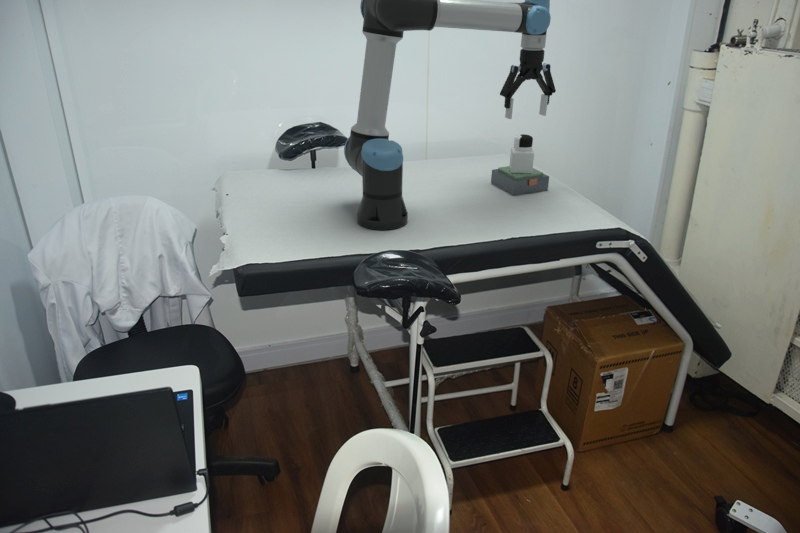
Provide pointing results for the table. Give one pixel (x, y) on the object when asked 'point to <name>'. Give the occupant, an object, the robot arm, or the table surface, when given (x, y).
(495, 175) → the stand
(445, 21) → the robot arm
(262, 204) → the table surface
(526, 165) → the medicine bottle
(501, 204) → the table surface
